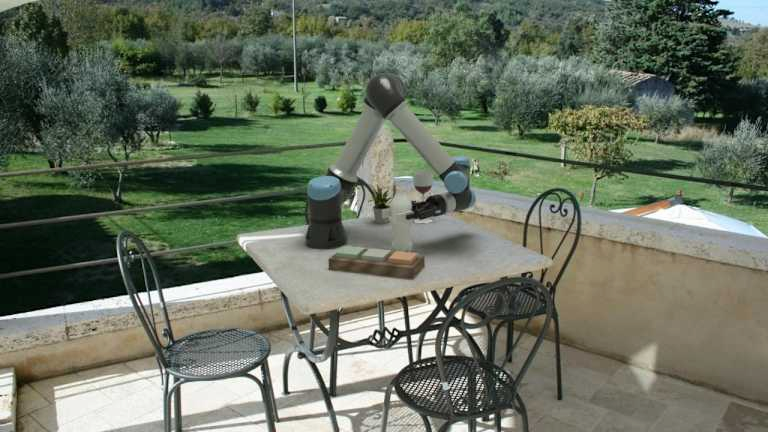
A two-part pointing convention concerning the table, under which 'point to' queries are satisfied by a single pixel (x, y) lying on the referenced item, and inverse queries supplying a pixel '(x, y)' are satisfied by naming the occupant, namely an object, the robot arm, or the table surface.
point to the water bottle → (401, 229)
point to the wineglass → (423, 186)
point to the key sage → (350, 252)
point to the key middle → (376, 255)
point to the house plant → (380, 204)
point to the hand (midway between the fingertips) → (390, 216)
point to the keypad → (377, 266)
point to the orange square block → (403, 258)
